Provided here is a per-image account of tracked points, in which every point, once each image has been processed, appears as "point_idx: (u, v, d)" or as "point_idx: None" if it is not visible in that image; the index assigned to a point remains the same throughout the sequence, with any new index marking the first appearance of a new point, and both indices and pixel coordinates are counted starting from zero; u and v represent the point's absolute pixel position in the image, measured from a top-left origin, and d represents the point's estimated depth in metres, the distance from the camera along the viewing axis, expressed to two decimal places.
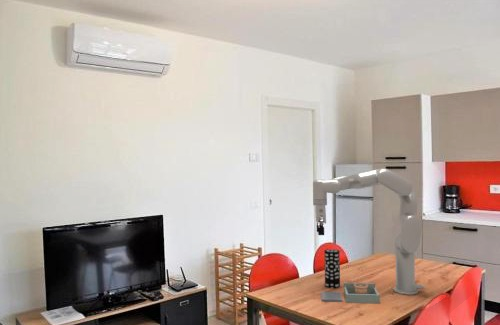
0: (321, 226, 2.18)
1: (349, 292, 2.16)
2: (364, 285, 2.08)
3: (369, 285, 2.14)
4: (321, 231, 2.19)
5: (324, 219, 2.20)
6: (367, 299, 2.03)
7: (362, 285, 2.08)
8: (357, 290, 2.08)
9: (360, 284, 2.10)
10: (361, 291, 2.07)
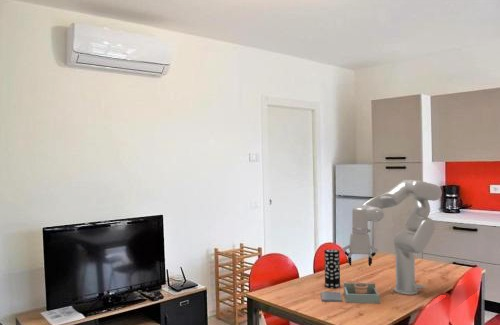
0: None
1: (349, 292, 2.16)
2: (364, 285, 2.08)
3: (369, 285, 2.14)
4: (371, 261, 2.09)
5: None
6: (367, 299, 2.03)
7: (362, 285, 2.08)
8: (357, 290, 2.08)
9: (360, 284, 2.10)
10: (361, 291, 2.07)
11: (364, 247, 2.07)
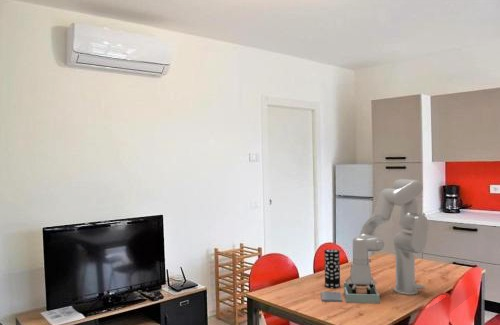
0: None
1: (349, 292, 2.16)
2: (364, 285, 2.08)
3: None
4: (369, 292, 2.09)
5: None
6: (367, 299, 2.03)
7: (362, 285, 2.08)
8: (357, 290, 2.08)
9: (360, 284, 2.10)
10: (361, 291, 2.07)
11: (365, 277, 2.07)
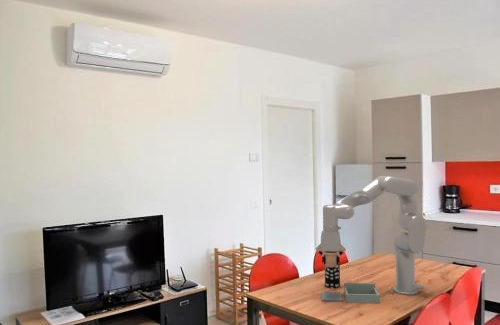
0: None
1: (349, 292, 2.16)
2: (334, 252, 2.10)
3: (369, 285, 2.14)
4: None
5: None
6: (367, 299, 2.03)
7: (332, 252, 2.10)
8: (327, 257, 2.09)
9: (330, 251, 2.12)
10: (330, 258, 2.08)
11: (334, 244, 2.09)
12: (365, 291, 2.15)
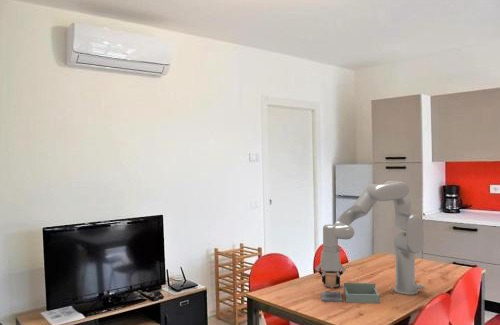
0: None
1: (349, 292, 2.16)
2: (333, 272, 2.10)
3: (369, 285, 2.14)
4: None
5: None
6: (367, 299, 2.03)
7: (331, 272, 2.10)
8: (326, 277, 2.09)
9: (330, 271, 2.12)
10: (330, 278, 2.08)
11: (334, 264, 2.09)
12: (365, 291, 2.15)
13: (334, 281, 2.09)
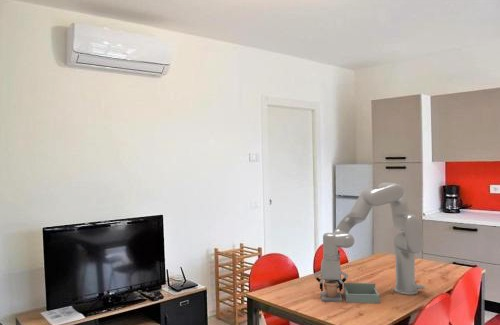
0: None
1: (349, 292, 2.16)
2: (334, 282, 2.10)
3: (369, 285, 2.14)
4: None
5: None
6: (367, 299, 2.03)
7: (332, 282, 2.10)
8: (327, 287, 2.10)
9: (330, 281, 2.12)
10: (331, 288, 2.08)
11: (335, 273, 2.09)
12: (365, 291, 2.15)
13: (335, 291, 2.09)
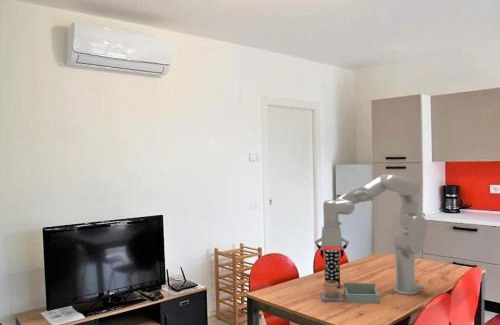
0: None
1: (349, 292, 2.16)
2: (334, 282, 2.10)
3: (369, 285, 2.14)
4: (343, 253, 2.11)
5: None
6: (367, 299, 2.03)
7: (332, 282, 2.10)
8: (327, 287, 2.10)
9: (330, 281, 2.12)
10: (331, 288, 2.08)
11: (335, 240, 2.09)
12: (365, 291, 2.15)
13: (335, 291, 2.09)
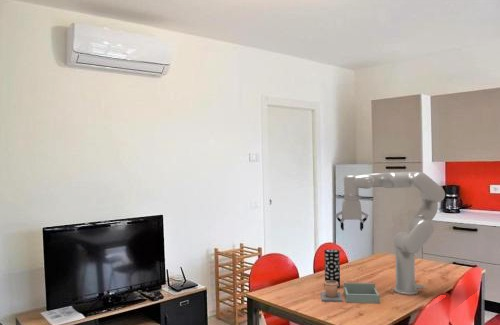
0: None
1: (349, 292, 2.16)
2: (334, 282, 2.10)
3: (369, 285, 2.14)
4: None
5: None
6: (367, 299, 2.03)
7: (332, 282, 2.10)
8: (327, 287, 2.10)
9: (330, 281, 2.12)
10: (331, 288, 2.08)
11: (355, 212, 2.17)
12: (365, 291, 2.15)
13: (335, 291, 2.09)
